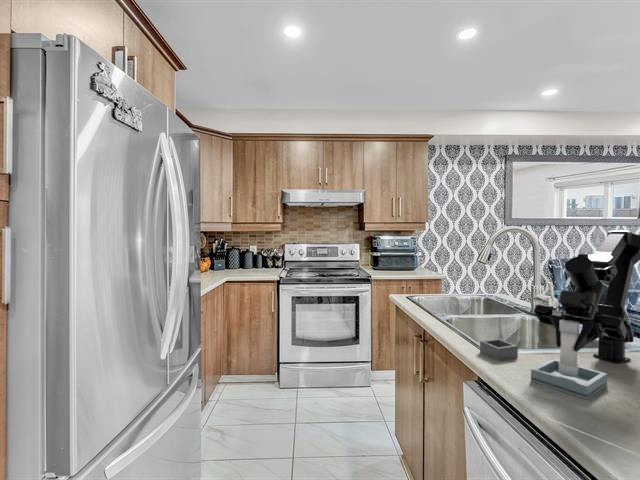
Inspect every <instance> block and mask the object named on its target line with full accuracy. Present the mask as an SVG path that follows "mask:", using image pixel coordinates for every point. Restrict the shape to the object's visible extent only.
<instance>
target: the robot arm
mask: <svg viewBox="0 0 640 480" xmlns="http://www.w3.org/2000/svg"><path fill="white" fill-rule="evenodd" d="M638 262H640V234H638V233H634V232H633V233H632V231H629V230H627V229H626V230H622V229H621V230H615V229H613V230H611V231H610V230H609V231H607V233H606V237H605V239H604V240H603V242H602V244H600V246H599V248H598V249H597V250H596V252H595V253H593V254H588V253H578V255H577V256H574V257H572V258H570V259H568V260H567V261H566V262H565V264H564V268H565V270H566V272H567V274H568V276H569V277H568V278H569V279H570V282H571V284H572V285H574V286H575V288H574V291H573V290H571V291H570V290H564V289H561V291H560V295H559V300H558V304H561V305H562V307H561V308H562V310H563V311H565V312H563V311H561V310H556V309H555V307H554V306H553V305H548V304H542V303H540V304H539V303H538V304H537V305H535V307H534V309H533V313H534V314H535V315H534V316H536V318H537V319H538V322H540V323H541V324H545V325H548V326H553V328H555V340H556V341H555V342H556V347H557V348H560V346H561V332H560V331H559V321H560V320H573V321H577V322H579V326H582V327H581V330H580V331H579V334H578V336H577V341H576V343H575V346H574V351H575V352H577V353H578V352H579V351H580V350H581V349H582V348H584V347H586V346H587V345H588V344H590V343H591V342H593V341H595V340H597V339H598V343H597V344H598V346H597V347H598V349H597V353H593V354H592V356H593V357H596V358H599V359H602V360H606V361H608V362H610V363H611V362H612V363H614V364H620V363H624V362H630V361H631V360H632V359H631V358H630V357H628V356H627V357H626V344H627V343H634V342H635V341H634V338H635V335H634V330H633V327H632V326H631V325H632V324H631V322H630V317H629V316H628V314H627V312H626V309H625V306H626V300H627V297H628V293H629V288H630V285H631V284H630V283H631V279H632V274H633V271H634V265H636V264H637V263H638ZM603 282H606V283H607V282H608V287H607V290H606V294H605V292H604V290H605V285H604V284H603ZM604 295H605V299H604V302H602V304H599V303H600V300H601V299H602V298H601V297H602V296H604Z"/></svg>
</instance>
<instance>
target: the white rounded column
mask: <svg viewBox="0 0 640 480" xmlns="http://www.w3.org/2000/svg"><path fill="white" fill-rule="evenodd" d="M559 331H560V332H561V346H560V347H559V348H560V350H559V351H560V358H559V373H560V374H562V375H565V376H569V377H577V376H578V366H579V364H578V351H577V352H575V351H574V346H575V343H576V341H577V339H578V335H579V334H580V324H579V322H577V321H573V320H560V321H559Z"/></svg>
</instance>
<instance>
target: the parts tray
mask: <svg viewBox="0 0 640 480" xmlns="http://www.w3.org/2000/svg"><path fill="white" fill-rule="evenodd" d="M559 361H560V359H559V360H558V359H555V358H552V359H550V360H547V361H545V362H543V363H541V364H539V365H537V366H535V367H533V368H531V369H530V381H531V382H533V383H536V384H540V385H542V386H545V387H548V388H552V389H554V390H556V391H560V392H563V393H567V394H570V395H572V396H575V397H578V398H581V399H584V400H589V399H590V398H591V397H593V396H594V395H596V394H597V393H599V392H600V391H602V390H603V389H604V388H605V387H607V386H608V373H606V372H603V371H598V370H596V369H592V368H588V367H585V366H581V365H578V376H577V377H569V376H565V375H562V374H560V373H559Z"/></svg>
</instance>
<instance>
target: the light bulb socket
mask: <svg viewBox="0 0 640 480" xmlns="http://www.w3.org/2000/svg"><path fill="white" fill-rule="evenodd" d="M518 347H519V346H518V345H517V344H513V343H511V342H509V341H506V340H503V339H500V338H493V339H486V340H481V341H480V343H479V353H480V354H483V355H485V356H487V357H489V358H490V359H491V358H492V359H494V360H496V361H504V360H505V361H506V360H510V359H511V360H512V359H517V358H518V357H519V355H518V353H519V350H518Z"/></svg>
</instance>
